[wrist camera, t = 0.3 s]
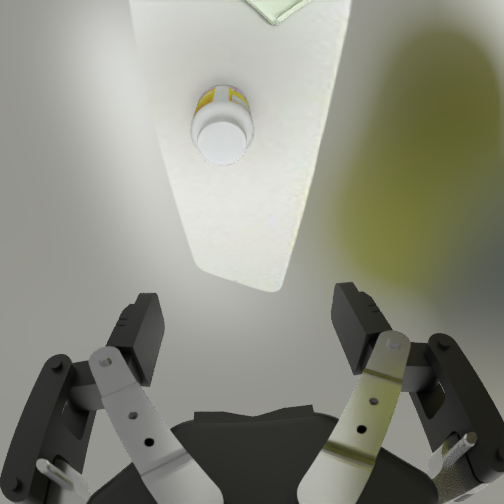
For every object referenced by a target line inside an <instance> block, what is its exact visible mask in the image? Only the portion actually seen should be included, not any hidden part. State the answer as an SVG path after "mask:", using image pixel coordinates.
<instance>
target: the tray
mask: <svg viewBox="0 0 504 504" xmlns="http://www.w3.org/2000/svg"><path fill="white" fill-rule="evenodd" d="M245 1H246V2H247V3H248V4H250V5H251V6H252V7H253V8H254V9H255V10H256V11H258V12H259V13H260V14H261V15H262V16H263V17H264V18H265V19H266V20H267V21H269V22H270V23H271V24H272V25H277V24H279V23H280V22H281V21H283V20H284V19H285V18H287V17H288V16H290V15H291V14H292V13H294V12H295V11H297V10H298V9H299V8H301V7H302V6H304V5H305V4H307V3H308V2H310V1H311V0H245Z"/></svg>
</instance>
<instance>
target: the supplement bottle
mask: <svg viewBox="0 0 504 504" xmlns="http://www.w3.org/2000/svg"><path fill="white" fill-rule="evenodd" d="M190 132H191V138H192V141H193V143H194V145H195V146H196V148H197V149H198V152H199V154H200V155H201V157H202V158H203V159H204V160H205V161H207V162H208V163H210V164H213V165H218V166H225V165H230V164H232V163H235V162H236V161H238V160H239V159H240V158H241V157H242V156H243V154H244V153H245V150H246V149H247V148H248V146H249V145H250V143H251V142H252V139H253V136H254V124H253V119H252V116H251V112H250V108H249V104H248V101H247V99H246V97H245V96H244V94H243V93H242V92H241V91H239V90H238V89H236V88H234V87H231V86H226V85H221V86H216V87H213V88H211V89H209V90H208V91H206V92H205V93H204V94H203V95H202V97H201V98H200V100H199V103H198V105H197V108H196V111H195V114H194V117H193V120H192V123H191V129H190Z"/></svg>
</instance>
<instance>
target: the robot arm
mask: <svg viewBox="0 0 504 504" xmlns="http://www.w3.org/2000/svg"><path fill="white" fill-rule="evenodd" d="M331 319H332V323H333V326H334V328H335V330H336V333H337V335H338V338H339V340H340V342H341V345H342V347H343V350H344V352H345V355H346V357H347V359H348V362H349V364H350V367H351V369H352V372H353V374H354V375H359V374H361V377H360V379H359V381H358V383H357V386H356V387H355V390H354V392H353V394H352V396H351V398H350V400H349V402H348V404H347V406H346V408H345V410H344V412H343V413H342V415H341V417H340V419H338V418H336V417H333V416H331V415H327V414H323V413H315V412H314V411H313V406H312V405H305V406H297V407H289V408H282V409H279V410H276V411H273V412H270V413H266V414H262V415H259V416H254V417H252V416H245V415H238V414H233V413H228V412H195V413H194V420H189V421H186V422H183V423H181V424H178V425H176V426H175V427H172V428H171V429H169V428H168V426H167V425H166V424H165V422H164V421H163V419H162V418H161V416H160V415H159V413H158V412H157V411H156V409H155V407H154V406H153V405H152V403H151V401H150V400H149V398H148V397H147V396H146V394H145V392H144V391H143V389H142V387H141V386H146V387H150V384H151V380H152V376H153V372H154V368H155V365H156V361H157V357H158V353H159V349H160V346H161V342H162V338H163V335H164V327H165V326H164V319H163V315H162V311H161V308H160V303H159V299H158V296H157V294H156V293H140V294H139V296H138V298H137V300H136V302H135V304H130V305H128V307H126V308H125V309H124V310H123V311H122V313H121V315H120V317H119V320H118V321H117V323H116V326H115V327H114V329H113V332H112V334H111V336H110V338H109V340H108V342H107V345H106V346H105V347H102V348H99V349H97V350H96V351H94V352H93V353H92V355H91V356H90V358H89V360H88V361H82V362H76V363H72V361H71V359H70V358H69V357H68V356H67V355H64V354H58V355H55V356H52V357H51V358H49V359H48V360H47V361H46V363H45V364H44V366H43V368H42V370H41V372H40V375H39V377H38V378H37V381H36V383H35V385H34V387H33V389H32V391H31V394H30V396H29V398H28V401H27V403H26V405H25V407H24V410H23V412H22V415H21V417H20V420H19V422H18V426H17V428H16V430H15V433H14V436H13V438H12V441H11V444H10V447H9V450H8V453H7V457H6V460H5V463H4V466H3V470H2V473H1V477H0V487H1V490H2V492H3V494H4V495H5V497H6V498H7V499H9V500H10V501H12V502H14V503H15V504H447V503H449V502H452V501H455V502H460V501H463V500H465V499H467V498H468V497H470V496H472V495H473V494H475V493H476V492H478V491H480V490H481V489H483V488H484V487H486V486H487V485H489V484H490V483H492V482H493V481H494V480H496V479H497V478H499V477H500V476H501V475H503V474H504V422H503V419H502V417H501V415H500V414H499V412H498V410H497V408H496V406H495V404H494V403H493V401H492V399H491V397H490V396H489V394H488V392H487V390H486V388H485V387H484V385H483V383H482V382H481V380H480V378H479V377H478V375H477V373H476V372H475V370H474V369H473V367H472V366H471V364H470V362H469V361H468V359H467V358H466V356H465V355H464V353H463V352H462V350H461V349H460V347H459V346H458V344H457V343H456V341H455V340H454V339H453V338H452V337H450V336H448V335H446V334H442V333H436V334H433V335H432V336H431V337H430V338H429V340H428V343H414V342H410V340H409V338H408V337H407V336H406V335H404V334H403V333H401V332H398V331H394V330H392V328H391V326H390V325H389V323H388V322H387V320H386V319H385V317H384V315H383V314H382V312H380V309H379V308H378V307H377V306H376V303H375V302H374V300H373V299H372V297H370V296H369V295H368V294H366V293H364V292H359V291H358V290H357V288H356V287H355V285H354V283H353V282H347V283H337V284H336V285H335V289H334V296H333V304H332V310H331ZM440 384H441V385H440ZM441 386H442V387H443V389H444V391H443V389H442V387H441ZM400 392H409V394H410V396H411V398H412V401H413V403H414V405H415V408H416V410H417V413H418V415H419V418H420V420H421V423H422V425H423V428H424V431H425V433H426V435H427V438H428V441H429V444H430V447H431V449H432V452H433V454H432V455H431V457H430V459H429V463H428V467H429V470H428V474H429V476H428V475H427V474H425V473H424V472H423V471H421V470H419V469H417V468H416V467H414V466H412V465H411V464H409V463H407V462H405V461H404V460H402V459H400V458H399V457H397V456H396V455H394V454H392V453H391V452H389V451H388V450H386V449H384V448H383V447H381V445H382V443H383V440H384V438H385V435H386V433H387V430H388V427H389V425H390V422H391V419H392V416H393V413H394V410H395V408H396V404H397V402H398V398H399V395H400ZM444 392H445V393H444ZM65 403H66V404H65ZM64 406H65V407H64ZM63 409H64V410H63ZM99 409H105V410H106V412H107V414H108V416H109V418H110V420H111V422H112V424H113V426H114V428H115V430H116V432H117V434H118V436H119V438H120V440H121V442H122V444H123V446H124V447H125V449H126V451H127V453H128V455H129V456H130V458H131V460H132V462H131V464H129V465H128V466H127V467H126V468H124V469H123V470H122V471H121V472H120V473H118V474H117V475H116V476H115V477H114V478H112V479H111V480H110V481H109V482H107V483H106V484H105V485H104V486H102V487H101V488H100V489H99V490H97V491H96V492H95V493H94V494H93V495H92V496H91V497H89V495H90V494H89V491H88V483H87V481H86V479H85V478H84V477H83V476H82V471H83V466H84V461H85V457H86V452H87V447H88V443H89V439H90V435H91V430H92V426H93V423H94V418H95V414H96V411H97V410H99ZM62 412H63V413H62Z"/></svg>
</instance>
